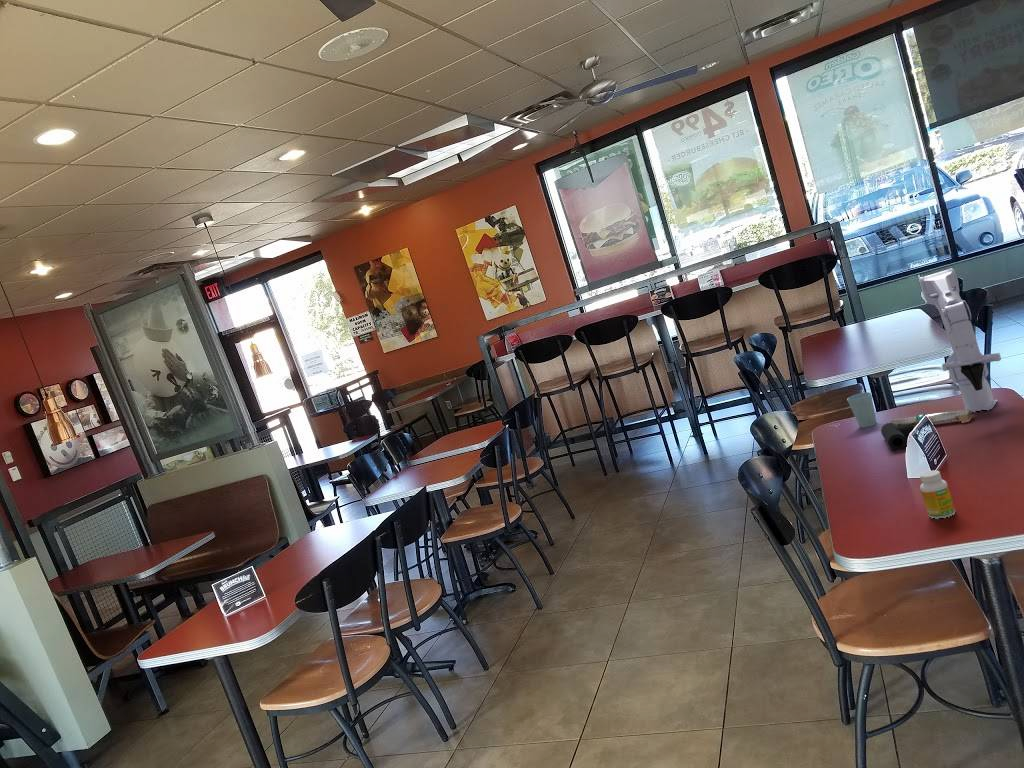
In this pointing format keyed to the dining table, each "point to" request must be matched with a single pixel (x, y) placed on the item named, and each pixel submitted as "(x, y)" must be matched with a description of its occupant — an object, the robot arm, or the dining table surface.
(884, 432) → the pipe connector
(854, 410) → the cup
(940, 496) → the supplement bottle
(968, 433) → the dining table surface
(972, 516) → the dining table surface
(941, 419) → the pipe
